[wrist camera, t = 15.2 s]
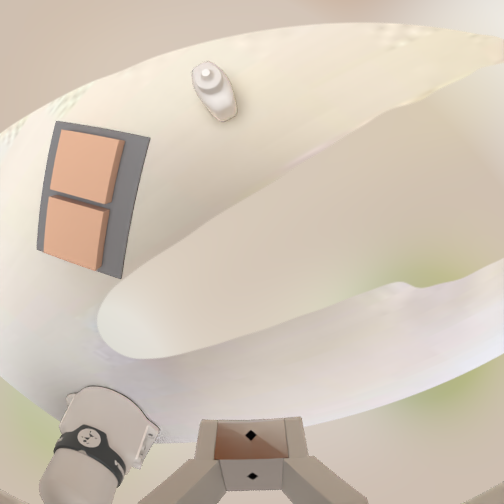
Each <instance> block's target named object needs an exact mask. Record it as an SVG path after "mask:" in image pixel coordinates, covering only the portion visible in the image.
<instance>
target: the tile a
mask: <svg viewBox="0 0 504 504" xmlns="http://www.w3.org/2000/svg"><path fill="white" fill-rule="evenodd" d="M109 212H110V209H106V208H103V207H99V206H96V205H92V204H88V203H85V202H81V201H78V200H74V199H70V198H67V197H63V196H60V195H53V196H49V199H48V207H47V216H46V226H45V237H44V253H47V254H49V255H52V256H55V257H57V258H60V259H63V260H66V261H68V262H71V263H74V264H77V265H80V266H82V267H85V268H88V269H91V270H94V271H96V270H97V269H98V268H100V267H101V266H102V258H103V250H104V243H105V236H106V230H107V224H108V218H109Z"/></svg>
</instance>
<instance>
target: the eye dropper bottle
mask: <svg viewBox="0 0 504 504" xmlns="http://www.w3.org/2000/svg"><path fill="white" fill-rule="evenodd" d="M192 82H193V86H194V89H195V91H196V93H197V95H198V97H199V98H200V100H201V101H202V102H203V104H204V105H205V106H206V107H207V109H208V110H209V111H210V113H211V114H212V115H213V116H214V117H215V118H217V119H218V120H219V121H222V122H223V121H226V120H228V119H230V118H232V117H234V116H235V115H236V114H237V106H236V101H235V97H234V93H233V89H232V86H231V83H230V81H229V79H228V77H227V76H226V74H225V73H224V72H223V71H222V70H221V69H220V68H219V67H218V66H217V65H216V64H214V63H212V62H209V61H207V62H204V63H201V64H199V65H198V66H196V67H195V68H194V69H193V70H192Z"/></svg>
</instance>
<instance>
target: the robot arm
mask: <svg viewBox="0 0 504 504" xmlns="http://www.w3.org/2000/svg"><path fill="white" fill-rule="evenodd" d="M66 402H67V405H68V409H67V410H66V412H65V414H64V416H63V418H62V420H61V422H60V425H59V428H60V431H61V433H62V435H61V437H60V439H59V440H58V441H57V443H56V445H55V448H54V456H53V457H52V459H51V461H50V463H49V464H48V466H47V468H46V471H45V472H44V474H43V476H42V478H41V480H40V483H39V492H40V496H41V498H42V500H43V502H44V504H112V501H113V498H114V494H115V491H116V488H118V487H119V486H120V484H121V483H122V481H123V479H124V475H127V474H128V473H129V471H130V469H131V467H135V468H137V469H141V466H142V463H143V460H144V459H145V457H146V455H147V453H148V452H149V450H150V448H151V446H152V445H153V443H154V441H155V439H156V437H157V436H158V434H159V431H160V430H159V428H158V427H157V426H155V425H154V424H153V423H152V422H150V421H149V420H148V419H147V418H146V417H145V415H144V414H143V412H142V411H141V410H140V409H139V408H138V407H137V406H136V405H135V404H134V403H133V402H132V401H130V400H129V399H128V398H126V397H125V396H123V395H121V394H119V393H117V392H115V391H113V390H110V389H107V388H103V387H87V388H84V389H82V390H81V391H80V392H79V393H76V394H69V395H67V397H66ZM248 490H282V491H283V492H284V494H285V495H286V496H287V497H288V498H289V499H290V500H291V502H292V503H293V504H368V500H367V498H366V497H365V496H363V495H362V494H361V493H359V492H358V491H357V490H355V489H354V488H353V487H351V486H350V485H349V484H348V483H346V482H345V481H344V480H343V479H341V478H340V477H339V476H337V475H336V474H335V473H334V472H333V471H331V470H330V469H329V468H328V467H326V466H325V465H324V464H323V463H322V462H320V461H319V460H318V459H317V458H316V457H315V456H309V455H308V449H307V444H306V439H305V433H304V428H303V422H302V418H301V417H290V418H276V419H259V420H204V419H202V421H201V423H200V428H199V433H198V439H197V445H196V451H195V457H194V459H189V460H188V461H187V462H186V463H184V464H183V465H182V466H181V467H180V468H179V469H178V470H176V471H175V472H174V473H173V474H172V475H171V476H170V477H168V478H167V479H166V480H165V481H164V482H163V483H161V484H160V485H159V486H158V487H156V488H155V489H154V490H153V491H152V492H150V493H149V494H148V495H147V496H145V497H144V498H143V499H142V500H140V501H139V502H138V504H217V503H218V502H219V501H220V499H221V498H222V497H223V496H224V494H225V493H226V491H248ZM0 504H28V503H26V502H24V501H22V500H20V499H18V498H16V497H14V496H12V495H10V494H8V493H7V492H5V491H3V490H1V489H0ZM462 504H504V481H503V482H502V483H500V484H498V485H497V486H495V487H493V488H491V489H489V490H487V491H486V492H484V493H482V494H480V495H478V496H476V497H474V498H472V499H470V500H468V501H466V502H464V503H462Z"/></svg>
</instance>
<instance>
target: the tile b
mask: <svg viewBox="0 0 504 504" xmlns="http://www.w3.org/2000/svg"><path fill="white" fill-rule="evenodd" d="M124 143H125V141H124V140H119V139H114V138H109V137H103V136H98V135H93V134H87V133H82V132H76V131H70V130H61V134H60V138H59V143H58V147H57V152H56V157H55V162H54V168H53V173H52V179H51V185H50V189H51V190H55V191H58V192H62V193H66V194H69V195H73V196H77V197H80V198H84V199H88V200H91V201H95V202H99V203H102V204H107V203H110V202H111V201H112V196H113V191H114V186H115V182H116V177H117V172H118V168H119V164H120V159H121V155H122V151H123V147H124Z"/></svg>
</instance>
